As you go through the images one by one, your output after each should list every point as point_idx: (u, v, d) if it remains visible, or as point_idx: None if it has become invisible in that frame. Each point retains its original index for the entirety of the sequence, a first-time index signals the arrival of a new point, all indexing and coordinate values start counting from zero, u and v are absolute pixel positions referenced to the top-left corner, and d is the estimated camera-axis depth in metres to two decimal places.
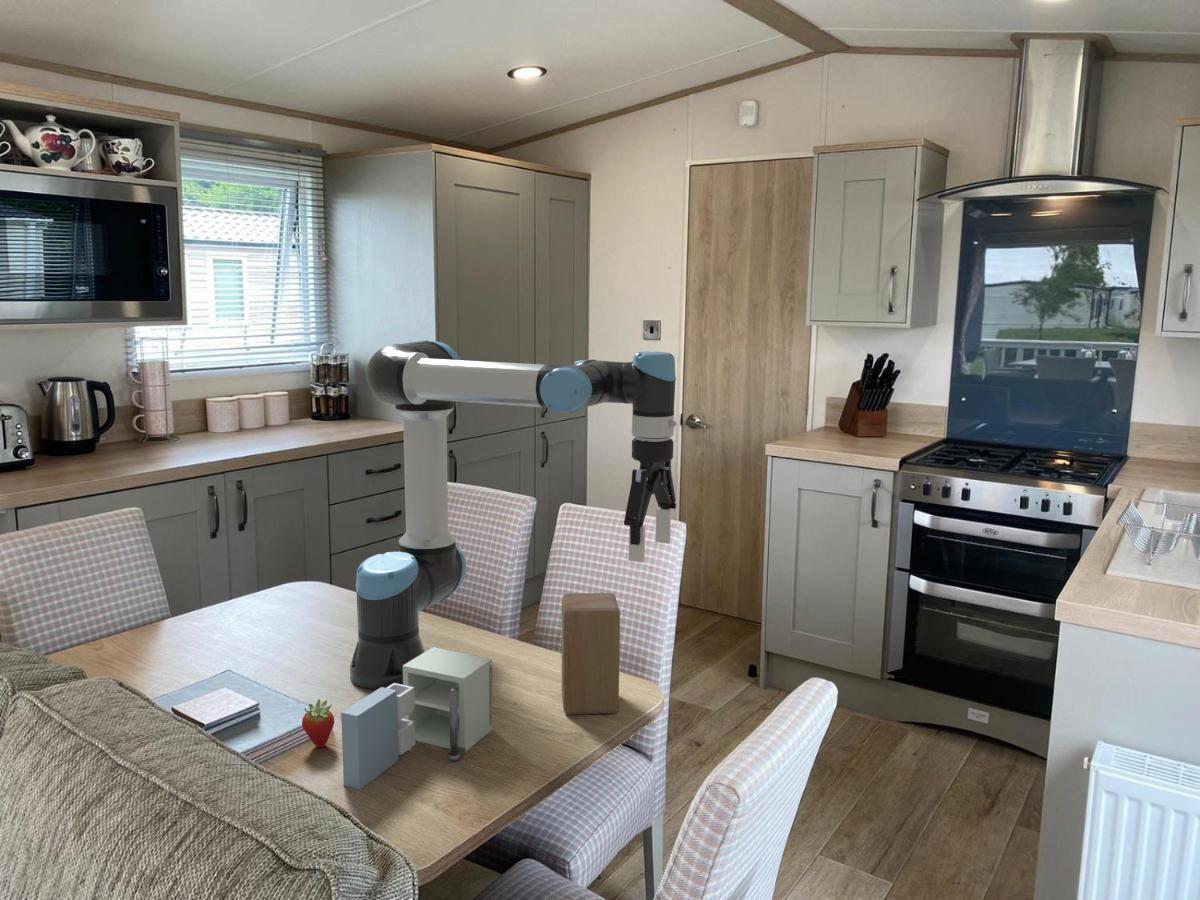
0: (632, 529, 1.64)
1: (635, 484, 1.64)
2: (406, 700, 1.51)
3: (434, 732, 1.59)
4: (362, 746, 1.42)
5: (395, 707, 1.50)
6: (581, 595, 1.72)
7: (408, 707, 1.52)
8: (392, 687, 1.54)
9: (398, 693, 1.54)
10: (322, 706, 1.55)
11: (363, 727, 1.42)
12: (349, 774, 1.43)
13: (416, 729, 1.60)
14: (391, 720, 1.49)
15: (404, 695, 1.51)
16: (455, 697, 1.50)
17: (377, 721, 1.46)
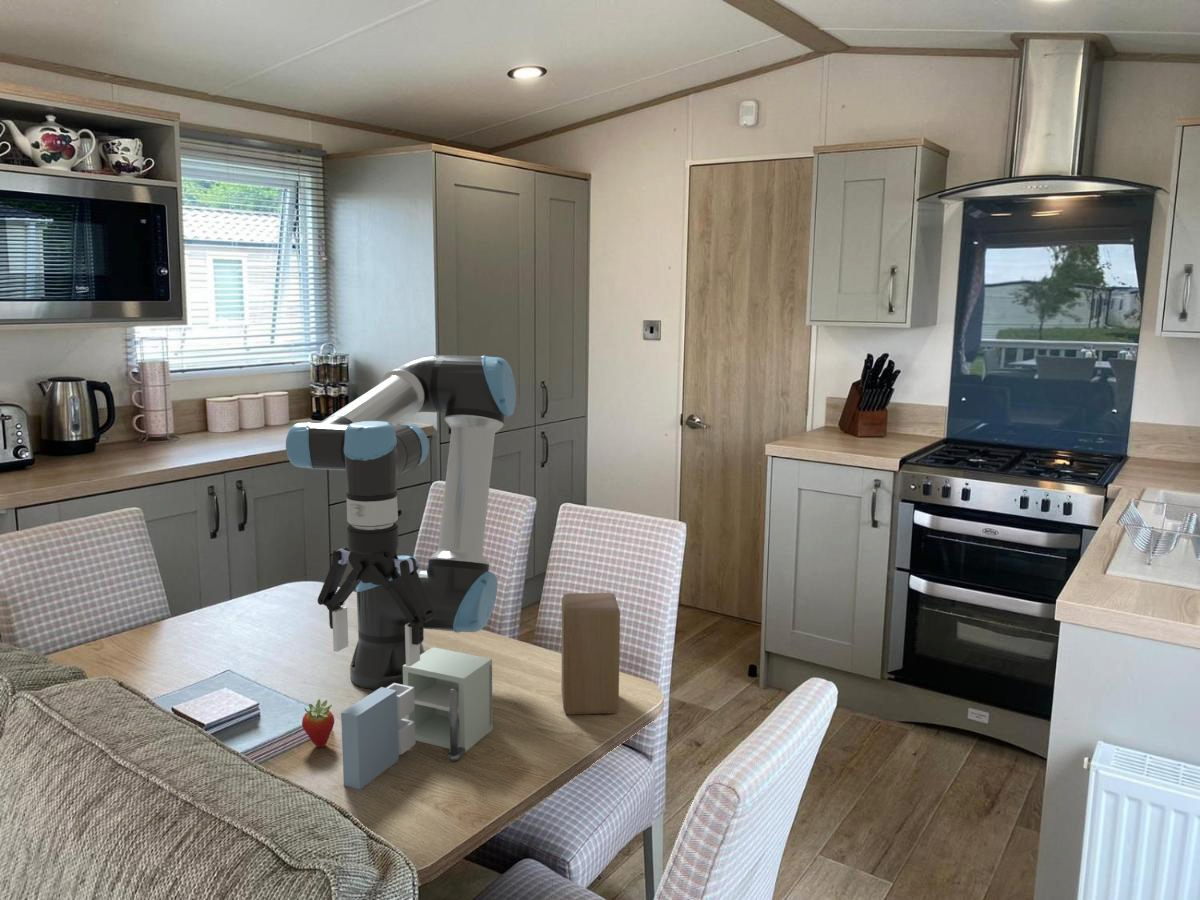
0: None
1: None
2: (406, 700, 1.51)
3: (434, 732, 1.59)
4: (362, 746, 1.42)
5: (395, 707, 1.50)
6: (581, 595, 1.72)
7: (408, 707, 1.52)
8: (392, 687, 1.54)
9: (398, 693, 1.54)
10: (322, 706, 1.55)
11: (363, 727, 1.42)
12: (349, 774, 1.43)
13: (416, 729, 1.60)
14: (391, 720, 1.49)
15: (404, 695, 1.51)
16: (455, 697, 1.50)
17: (377, 721, 1.46)
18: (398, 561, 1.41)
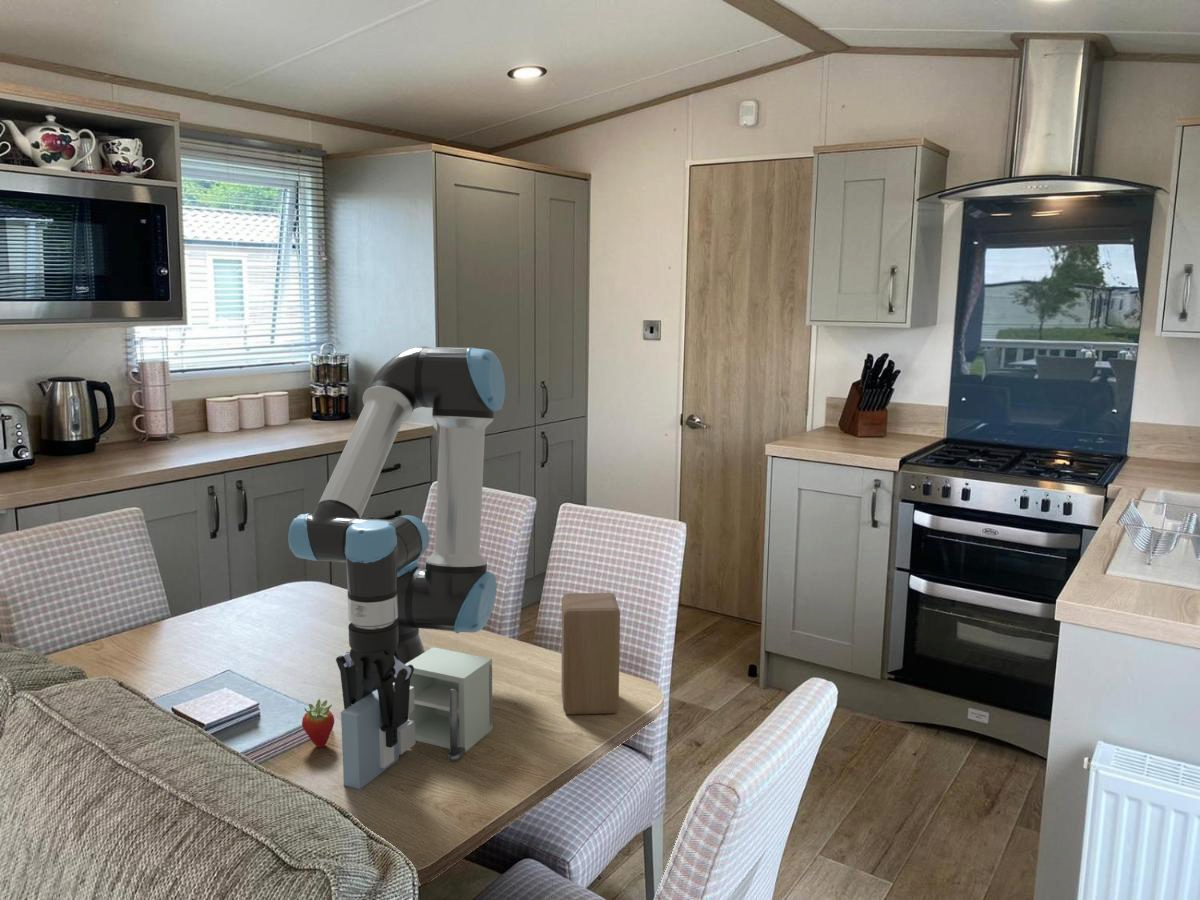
0: None
1: None
2: None
3: (434, 732, 1.59)
4: (362, 746, 1.42)
5: None
6: (581, 595, 1.72)
7: None
8: None
9: None
10: (322, 706, 1.55)
11: (362, 727, 1.42)
12: (349, 774, 1.43)
13: (416, 729, 1.60)
14: None
15: None
16: (455, 697, 1.50)
17: (377, 720, 1.46)
18: (398, 665, 1.44)
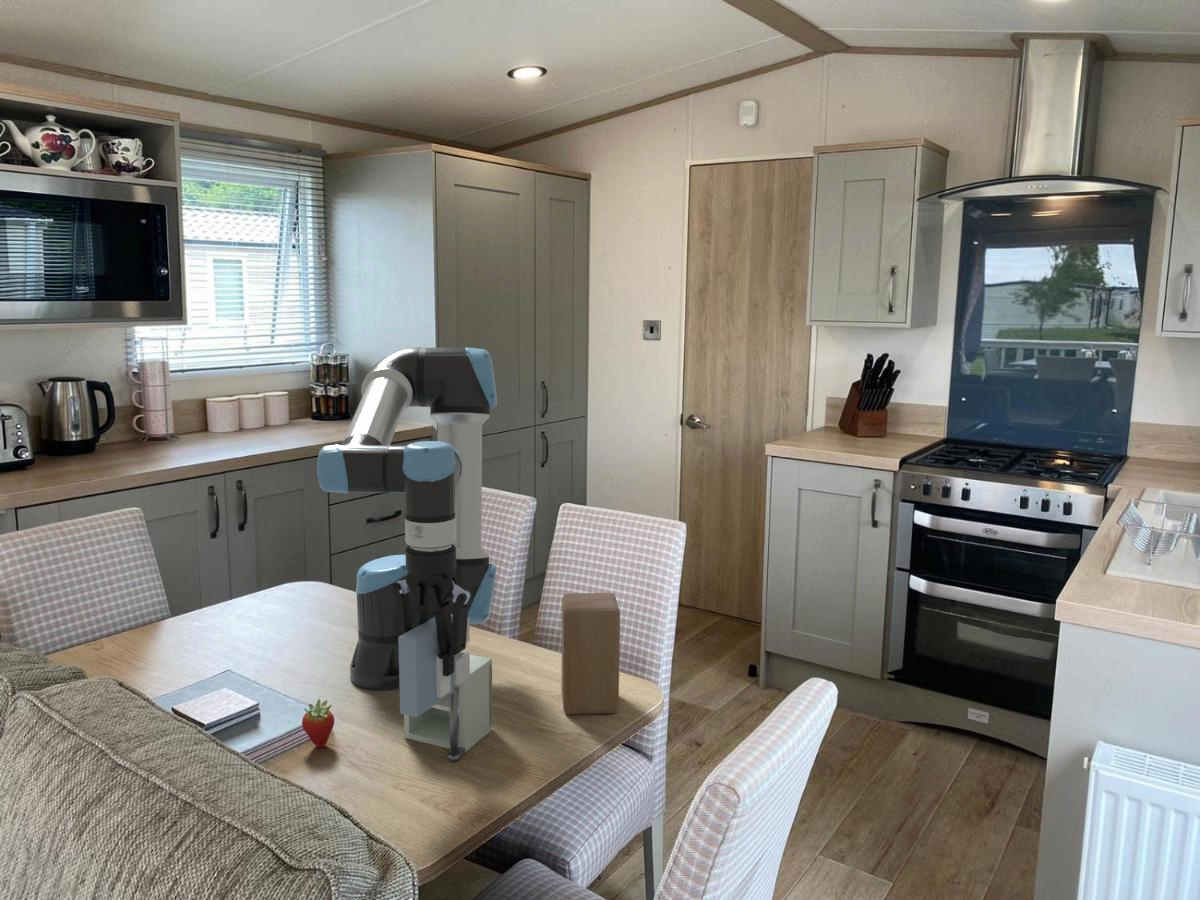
0: None
1: None
2: None
3: (434, 732, 1.59)
4: (419, 673, 1.38)
5: None
6: (581, 595, 1.72)
7: None
8: None
9: None
10: (322, 706, 1.55)
11: (420, 653, 1.38)
12: (406, 702, 1.39)
13: (416, 729, 1.60)
14: None
15: None
16: (455, 697, 1.50)
17: (434, 648, 1.41)
18: (457, 589, 1.40)
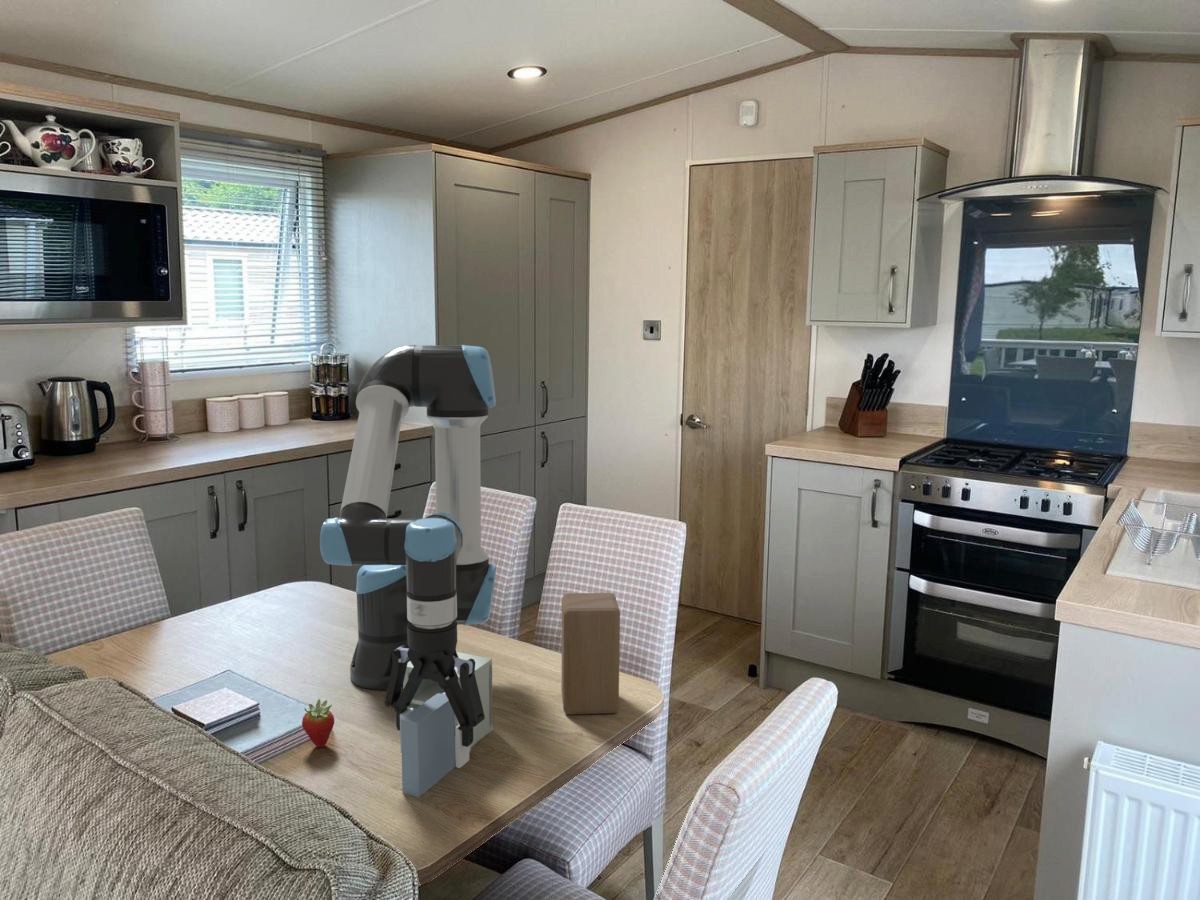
0: None
1: None
2: None
3: None
4: (421, 754, 1.41)
5: (452, 713, 1.48)
6: (581, 595, 1.72)
7: None
8: None
9: None
10: (322, 706, 1.55)
11: (422, 734, 1.40)
12: (408, 782, 1.41)
13: None
14: (448, 727, 1.47)
15: None
16: None
17: (436, 727, 1.44)
18: (458, 661, 1.42)
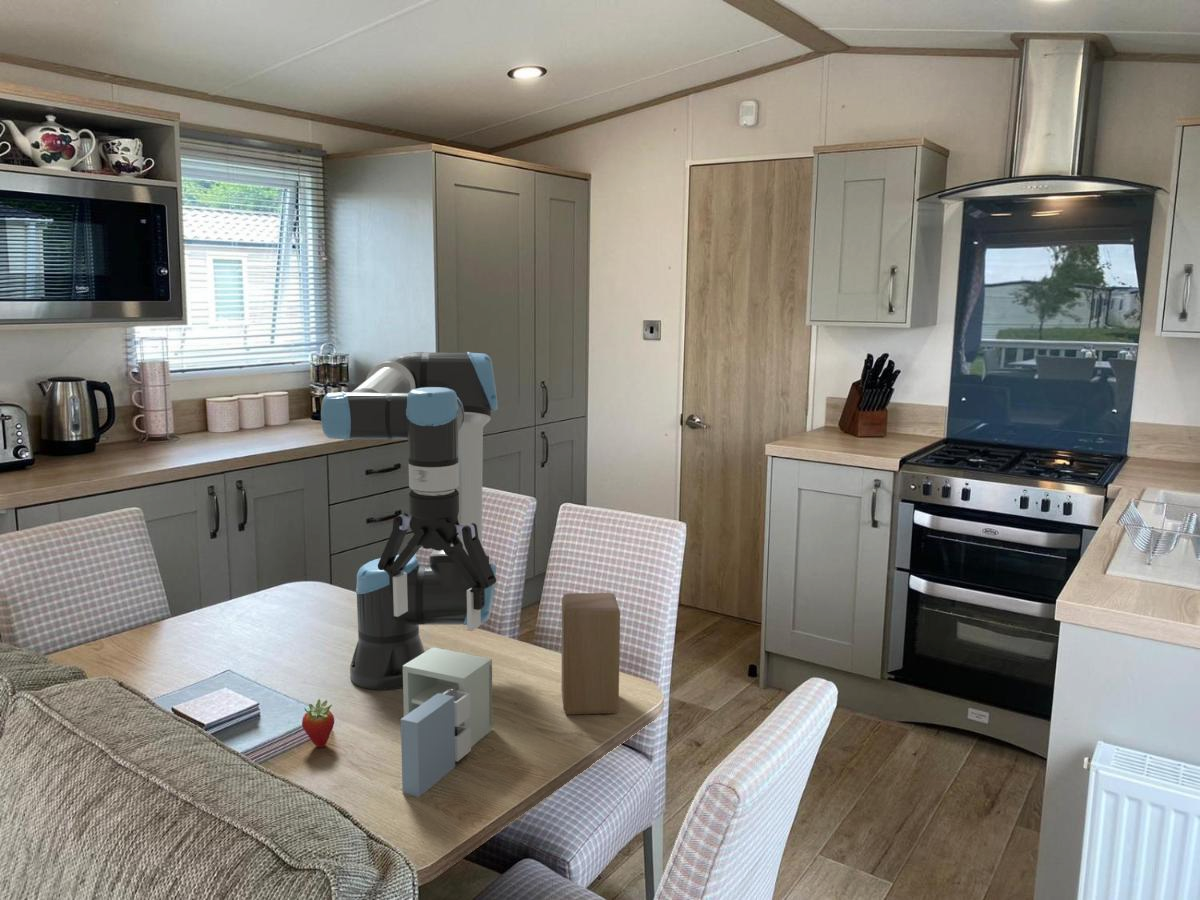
0: None
1: None
2: (462, 706, 1.50)
3: None
4: (421, 754, 1.41)
5: (452, 713, 1.48)
6: (581, 595, 1.72)
7: (464, 713, 1.50)
8: (448, 693, 1.52)
9: None
10: (322, 706, 1.55)
11: (422, 734, 1.40)
12: (408, 782, 1.41)
13: None
14: (448, 727, 1.47)
15: (461, 701, 1.49)
16: (455, 697, 1.50)
17: (436, 727, 1.44)
18: (460, 527, 1.42)
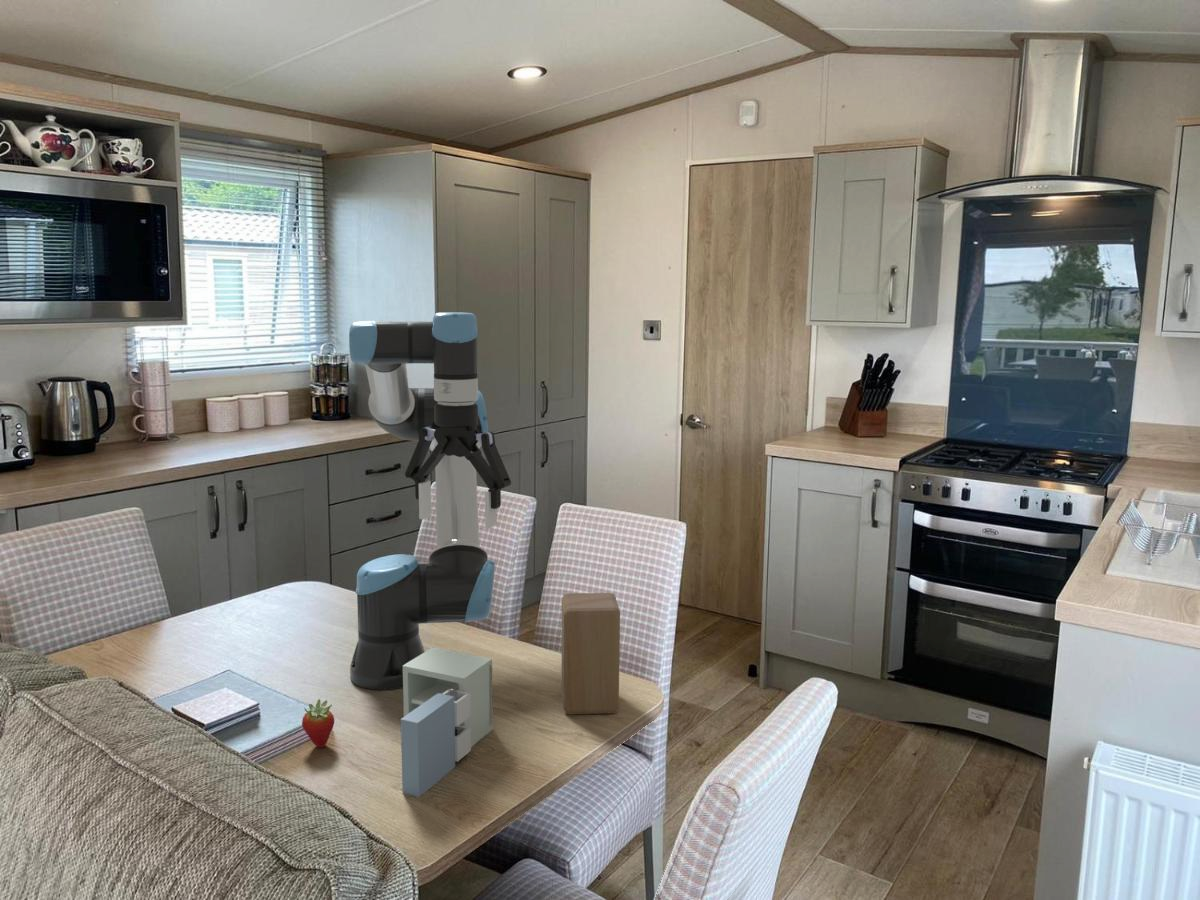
0: None
1: None
2: (462, 706, 1.50)
3: None
4: (421, 754, 1.41)
5: (452, 713, 1.48)
6: (581, 595, 1.72)
7: (464, 713, 1.50)
8: (448, 693, 1.52)
9: None
10: (322, 706, 1.55)
11: (422, 734, 1.40)
12: (408, 782, 1.41)
13: None
14: (448, 727, 1.47)
15: (461, 701, 1.49)
16: (455, 697, 1.50)
17: (436, 727, 1.44)
18: (479, 434, 1.60)
